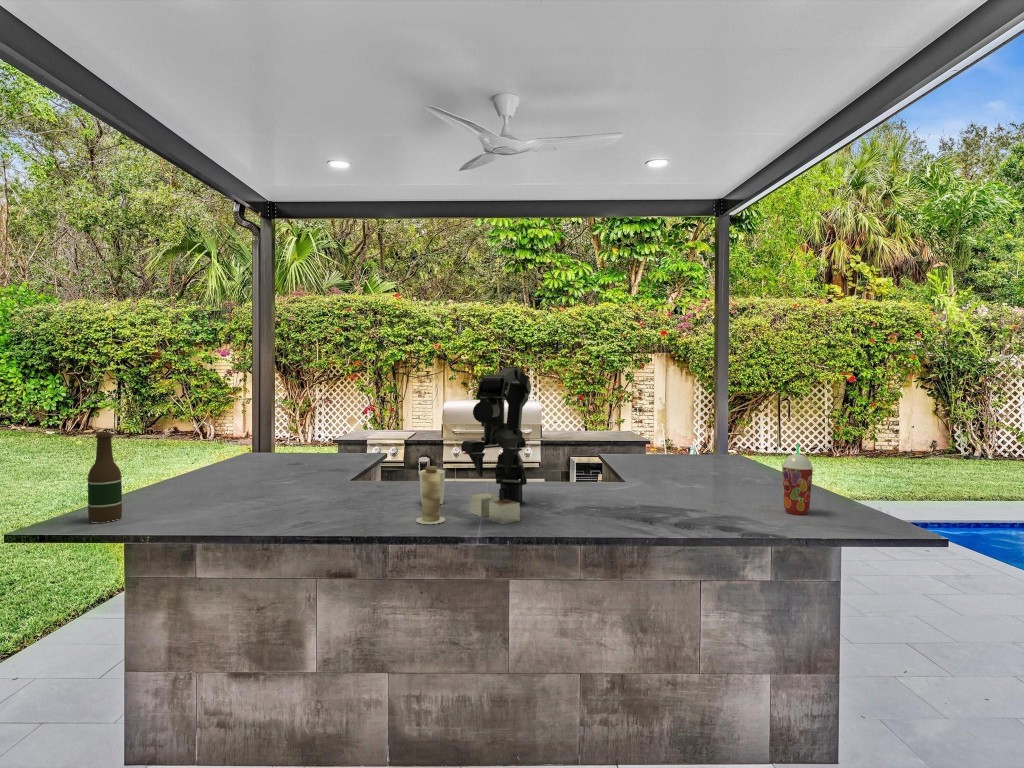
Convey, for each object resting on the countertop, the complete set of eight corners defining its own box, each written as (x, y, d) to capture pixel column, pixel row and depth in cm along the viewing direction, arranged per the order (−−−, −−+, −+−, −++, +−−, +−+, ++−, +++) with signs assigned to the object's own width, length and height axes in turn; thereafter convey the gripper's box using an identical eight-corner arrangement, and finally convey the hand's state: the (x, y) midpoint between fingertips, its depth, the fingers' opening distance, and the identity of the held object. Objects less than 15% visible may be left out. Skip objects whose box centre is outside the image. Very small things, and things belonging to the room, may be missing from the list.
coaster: (436, 516, 176) (436, 514, 176) (450, 522, 170) (450, 520, 170) (410, 520, 171) (410, 518, 171) (424, 526, 165) (424, 524, 165)
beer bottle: (128, 518, 172) (127, 431, 172) (102, 525, 165) (100, 434, 164) (108, 515, 175) (107, 430, 174) (81, 522, 168) (79, 433, 167)
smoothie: (812, 511, 184) (813, 443, 183) (812, 517, 176) (813, 447, 176) (781, 508, 187) (782, 442, 187) (780, 514, 180) (781, 445, 179)
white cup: (440, 506, 188) (440, 474, 187) (415, 505, 189) (415, 473, 189) (448, 501, 195) (448, 469, 195) (424, 500, 197) (424, 468, 197)
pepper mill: (438, 516, 173) (438, 465, 173) (440, 521, 169) (441, 468, 168) (421, 517, 172) (421, 465, 172) (423, 522, 168) (423, 468, 167)
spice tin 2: (506, 516, 176) (506, 498, 176) (519, 521, 171) (519, 502, 171) (489, 519, 172) (489, 501, 172) (501, 524, 167) (501, 505, 167)
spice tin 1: (487, 509, 184) (487, 492, 184) (498, 513, 179) (498, 495, 179) (469, 512, 180) (469, 494, 180) (481, 516, 175) (481, 498, 175)
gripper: (483, 424, 162) (483, 483, 163) (538, 419, 173) (538, 475, 174) (460, 420, 171) (460, 477, 171) (513, 416, 182) (513, 469, 183)
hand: (494, 474), depth 175 cm, fingers open, 9 cm apart
